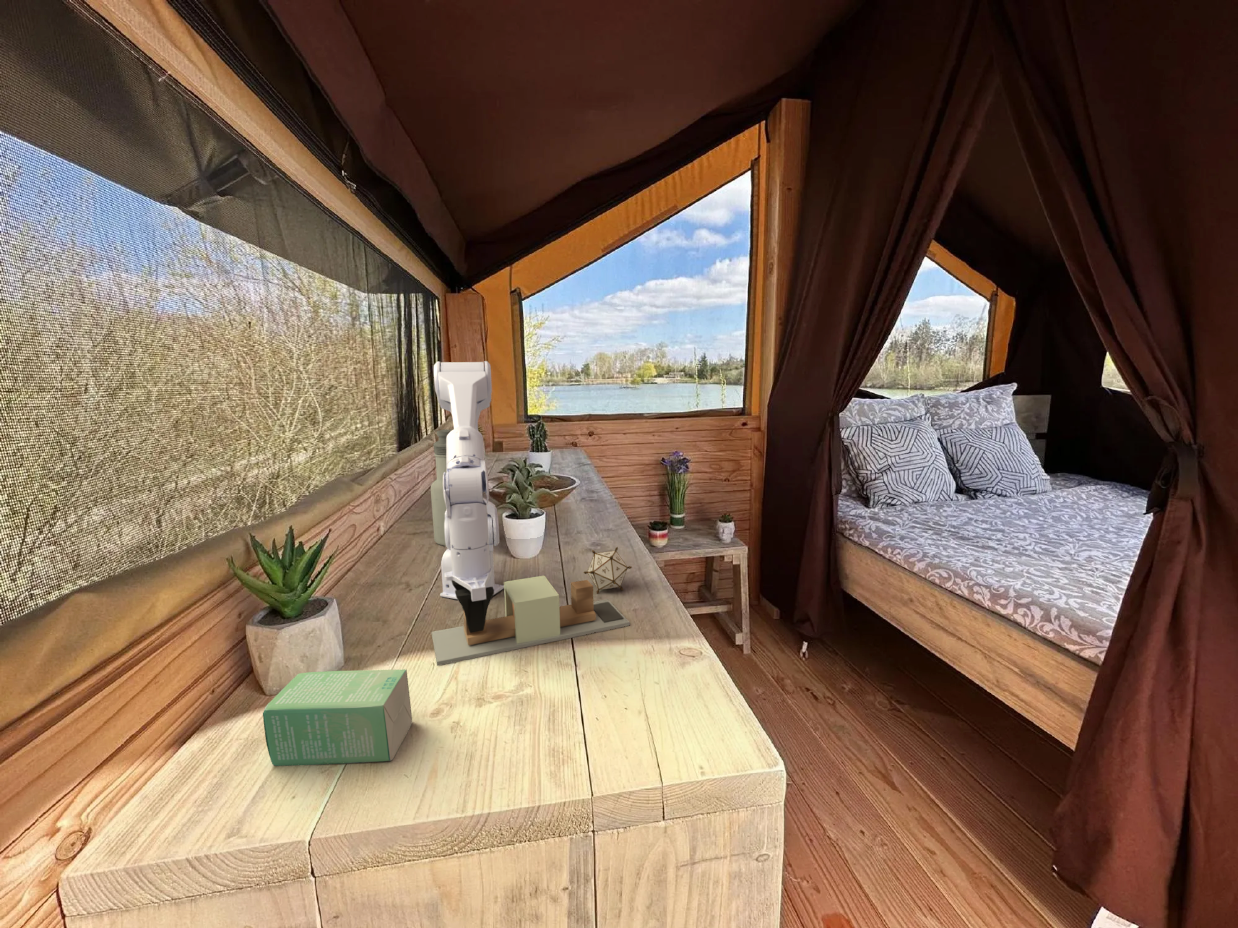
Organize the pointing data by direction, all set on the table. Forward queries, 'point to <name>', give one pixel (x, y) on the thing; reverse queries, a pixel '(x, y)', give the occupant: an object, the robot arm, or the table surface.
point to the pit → (607, 612)
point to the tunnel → (533, 608)
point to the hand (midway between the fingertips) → (474, 625)
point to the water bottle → (439, 488)
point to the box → (338, 718)
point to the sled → (569, 615)
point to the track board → (509, 639)
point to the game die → (607, 570)
